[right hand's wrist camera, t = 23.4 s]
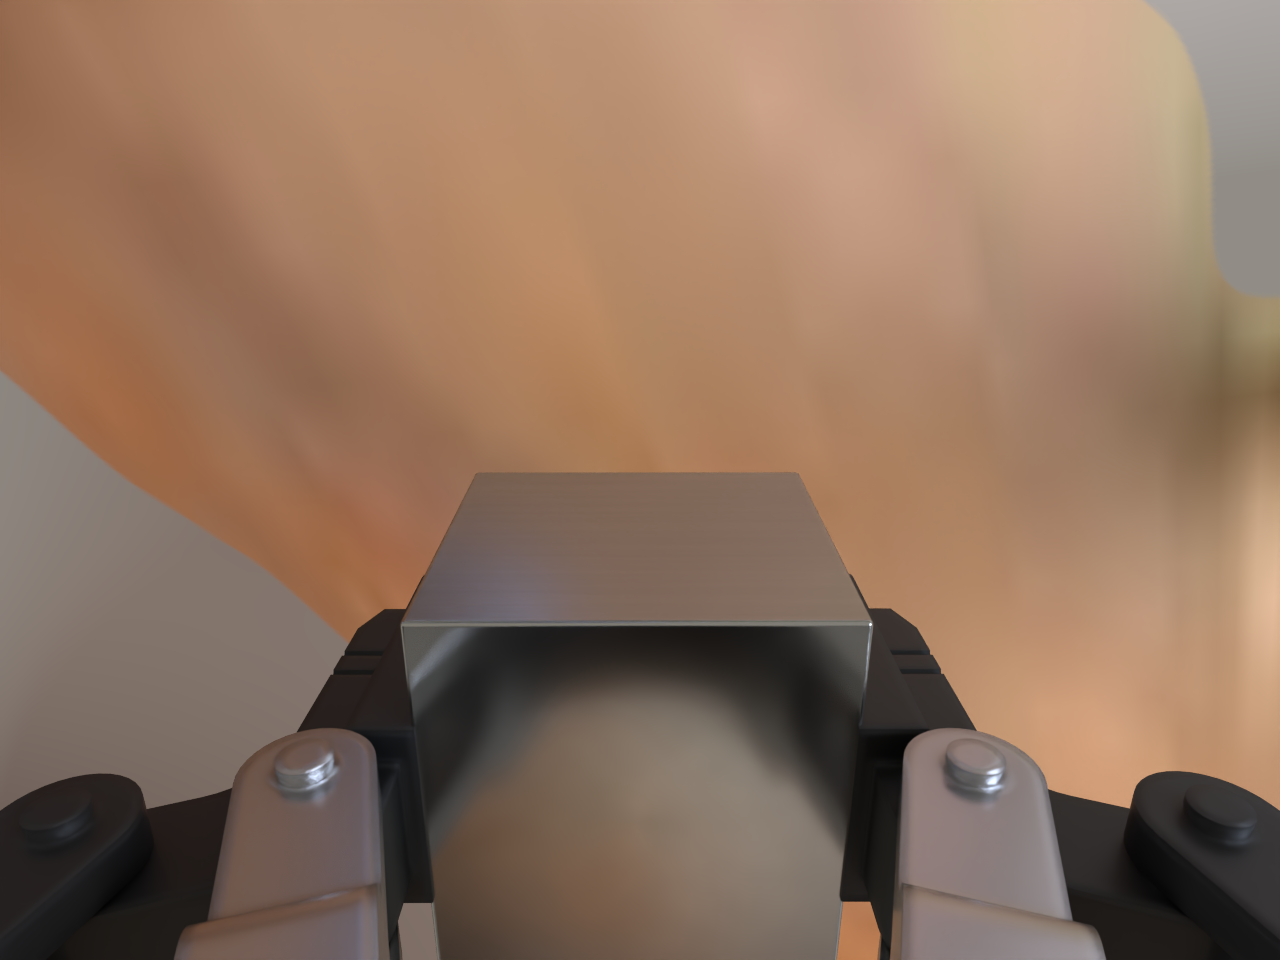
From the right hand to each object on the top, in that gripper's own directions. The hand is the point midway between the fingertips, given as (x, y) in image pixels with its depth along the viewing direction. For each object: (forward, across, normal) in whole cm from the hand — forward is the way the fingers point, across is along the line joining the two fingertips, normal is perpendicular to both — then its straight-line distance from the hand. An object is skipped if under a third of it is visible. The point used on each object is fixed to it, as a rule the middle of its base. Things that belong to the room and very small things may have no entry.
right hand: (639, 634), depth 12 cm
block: (0, 0, 0) cm, 1 cm away
